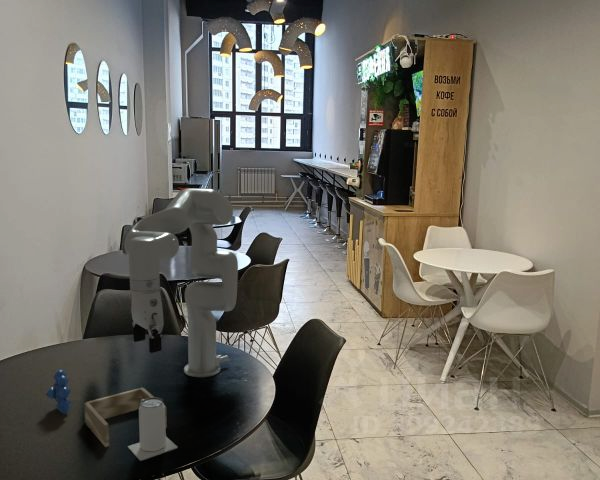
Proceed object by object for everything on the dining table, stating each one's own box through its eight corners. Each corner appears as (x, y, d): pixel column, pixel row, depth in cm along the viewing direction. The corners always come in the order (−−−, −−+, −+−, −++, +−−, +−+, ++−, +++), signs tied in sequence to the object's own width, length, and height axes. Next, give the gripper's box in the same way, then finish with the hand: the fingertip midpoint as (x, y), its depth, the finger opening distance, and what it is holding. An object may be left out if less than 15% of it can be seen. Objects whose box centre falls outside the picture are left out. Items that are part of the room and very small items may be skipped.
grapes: (43, 405, 162) (41, 367, 160) (68, 400, 166) (66, 363, 164) (50, 422, 153) (47, 381, 151) (75, 416, 156) (73, 376, 154)
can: (158, 454, 137) (157, 409, 135) (135, 450, 138) (133, 406, 137) (170, 441, 143) (169, 398, 141) (147, 438, 145) (146, 395, 143)
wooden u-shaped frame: (143, 406, 163) (142, 387, 162) (166, 427, 151) (166, 407, 150) (84, 422, 153) (83, 402, 152) (105, 447, 140) (104, 425, 140)
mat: (163, 435, 147) (163, 434, 147) (177, 448, 141) (177, 446, 141) (127, 447, 141) (127, 446, 141) (140, 461, 134) (140, 459, 134)
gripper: (173, 288, 139) (175, 352, 142) (144, 275, 152) (146, 334, 155) (145, 293, 134) (148, 359, 137) (118, 279, 147) (120, 339, 150)
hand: (147, 346), depth 146 cm, fingers open, 9 cm apart
